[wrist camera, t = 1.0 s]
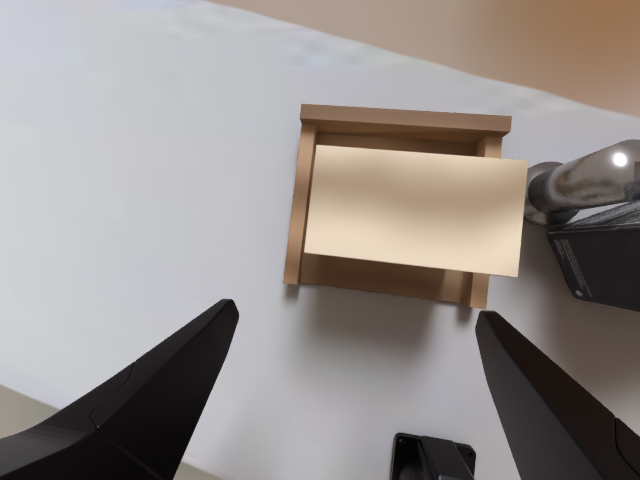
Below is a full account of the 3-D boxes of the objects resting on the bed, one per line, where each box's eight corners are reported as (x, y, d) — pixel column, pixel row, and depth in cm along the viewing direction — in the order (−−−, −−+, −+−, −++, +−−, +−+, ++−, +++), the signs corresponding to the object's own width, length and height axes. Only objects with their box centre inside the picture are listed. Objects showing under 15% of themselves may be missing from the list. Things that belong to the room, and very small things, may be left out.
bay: (473, 304, 22) (493, 312, 19) (288, 280, 24) (280, 284, 21) (490, 133, 23) (511, 116, 20) (306, 121, 24) (301, 103, 21)
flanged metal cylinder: (607, 231, 22) (793, 218, 13) (508, 221, 22) (617, 202, 13) (612, 169, 22) (799, 114, 13) (514, 162, 23) (625, 104, 14)
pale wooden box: (448, 266, 22) (518, 278, 13) (319, 251, 23) (303, 252, 14) (455, 196, 22) (529, 159, 13) (327, 184, 23) (315, 143, 14)
